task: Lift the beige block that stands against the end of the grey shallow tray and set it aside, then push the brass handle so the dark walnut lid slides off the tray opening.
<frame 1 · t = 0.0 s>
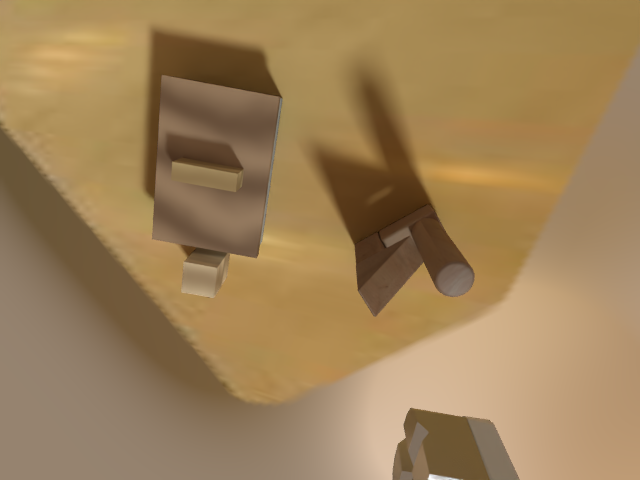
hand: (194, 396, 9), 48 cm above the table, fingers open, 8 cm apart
wooden block: (396, 235, 58), on the table
lid: (209, 173, 50), point 6 cm above the table, slide at 0.0 cm
beige block: (213, 260, 60), on the table
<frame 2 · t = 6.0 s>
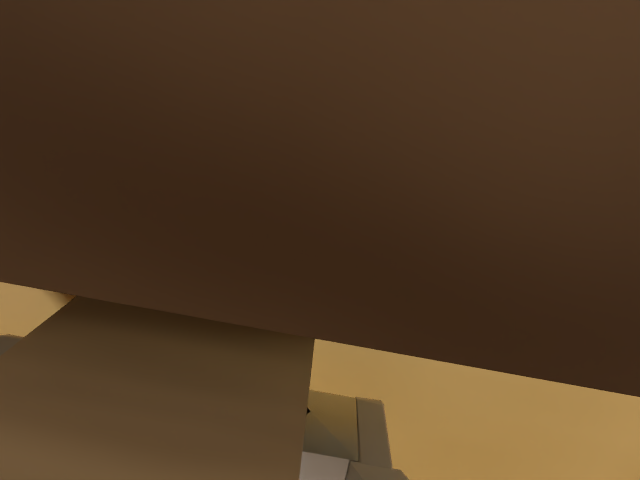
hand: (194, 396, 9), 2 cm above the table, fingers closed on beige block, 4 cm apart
beige block: (223, 338, 11), on the table, touching gripper
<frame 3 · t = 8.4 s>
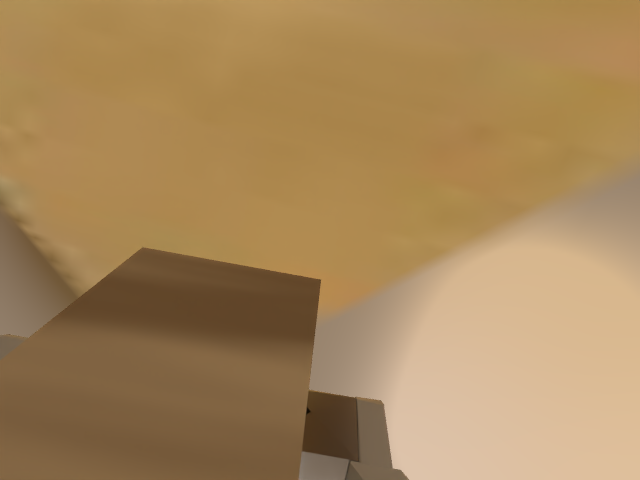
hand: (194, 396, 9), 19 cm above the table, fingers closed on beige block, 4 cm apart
beige block: (222, 341, 11), point 17 cm above the table, touching gripper
when the fingers open (3 cm above the table, at t = 11.2 s): beige block stays where it is, on the table.
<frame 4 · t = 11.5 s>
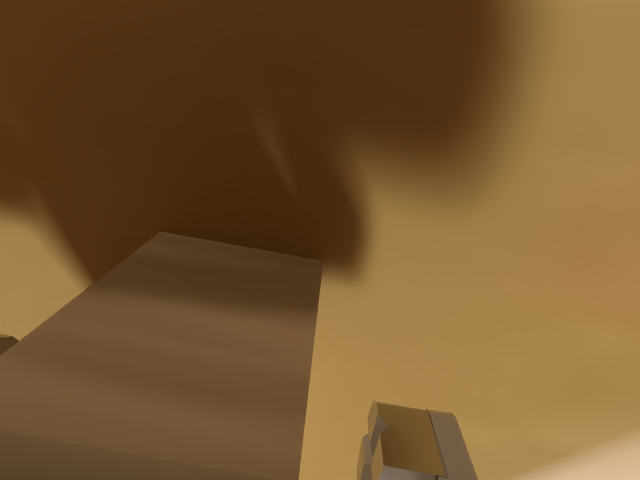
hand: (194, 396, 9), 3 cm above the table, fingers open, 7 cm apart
beige block: (232, 318, 12), on the table
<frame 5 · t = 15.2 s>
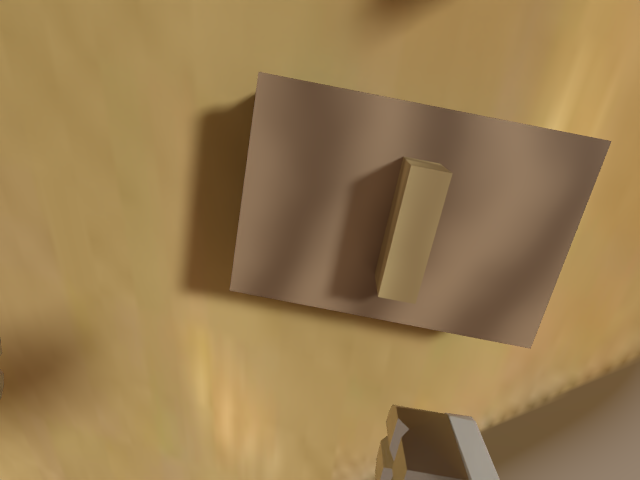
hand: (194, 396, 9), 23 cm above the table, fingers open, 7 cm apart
lid: (407, 226, 24), point 6 cm above the table, slide at 0.0 cm
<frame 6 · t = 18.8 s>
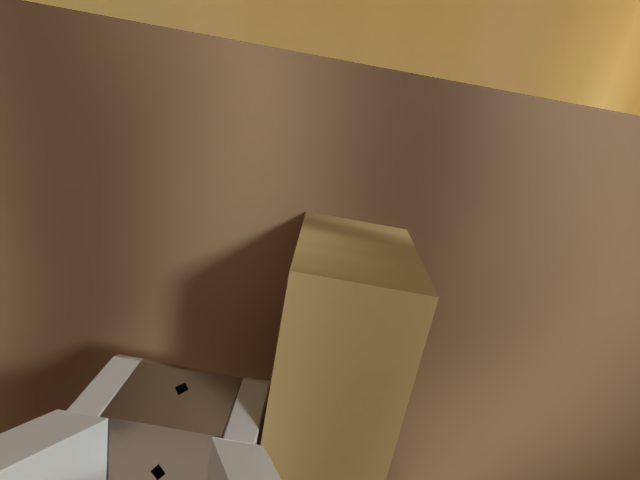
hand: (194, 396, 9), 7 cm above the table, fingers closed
lid: (323, 397, 9), point 6 cm above the table, slide at 1.9 cm, touching gripper
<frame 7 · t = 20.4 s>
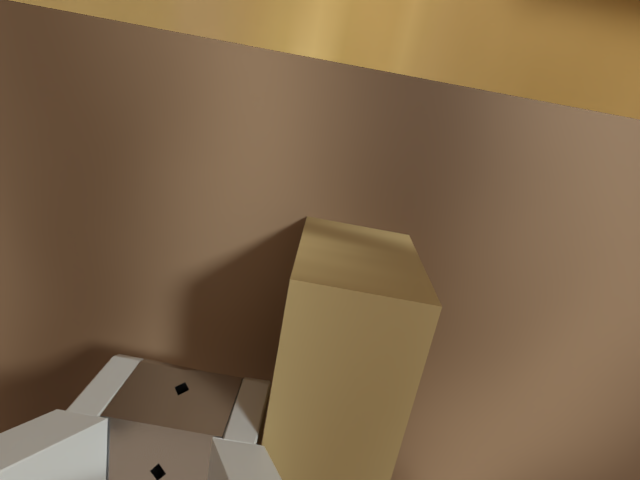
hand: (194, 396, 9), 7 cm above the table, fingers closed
lid: (323, 404, 9), point 6 cm above the table, slide at 10.5 cm, touching gripper
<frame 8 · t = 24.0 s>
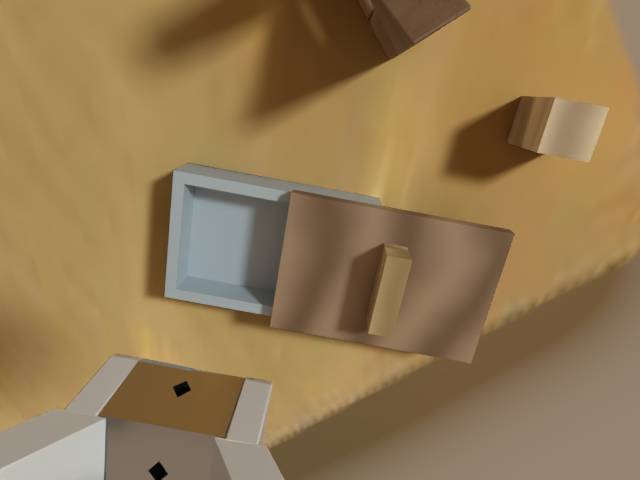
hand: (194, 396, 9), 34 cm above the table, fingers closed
lid: (387, 287, 38), point 6 cm above the table, slide at 10.5 cm
beige block: (536, 124, 39), on the table
grey shallow tray: (275, 240, 44), on the table
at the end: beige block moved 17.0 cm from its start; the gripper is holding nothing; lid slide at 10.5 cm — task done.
